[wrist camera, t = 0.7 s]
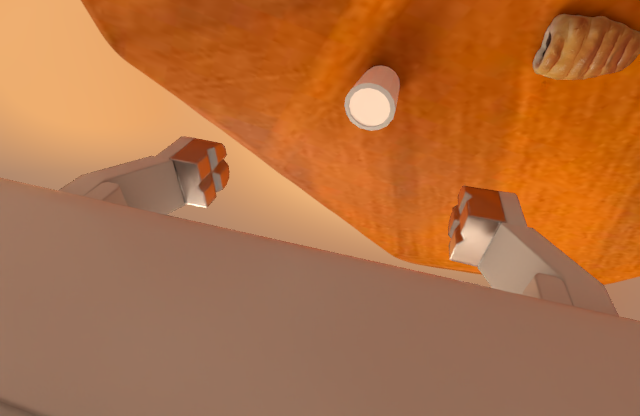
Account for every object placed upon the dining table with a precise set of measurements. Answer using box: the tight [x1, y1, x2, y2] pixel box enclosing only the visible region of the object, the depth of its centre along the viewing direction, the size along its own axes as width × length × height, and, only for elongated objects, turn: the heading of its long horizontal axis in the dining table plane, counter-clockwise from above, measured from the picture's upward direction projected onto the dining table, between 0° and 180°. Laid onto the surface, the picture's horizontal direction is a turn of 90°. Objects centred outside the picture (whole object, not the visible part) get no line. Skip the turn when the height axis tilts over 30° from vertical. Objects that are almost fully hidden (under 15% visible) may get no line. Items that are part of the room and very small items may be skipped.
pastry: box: [533, 14, 640, 80], centre depth 36 cm, size 9×7×4 cm
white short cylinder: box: [344, 65, 400, 131], centre depth 46 cm, size 7×7×7 cm
